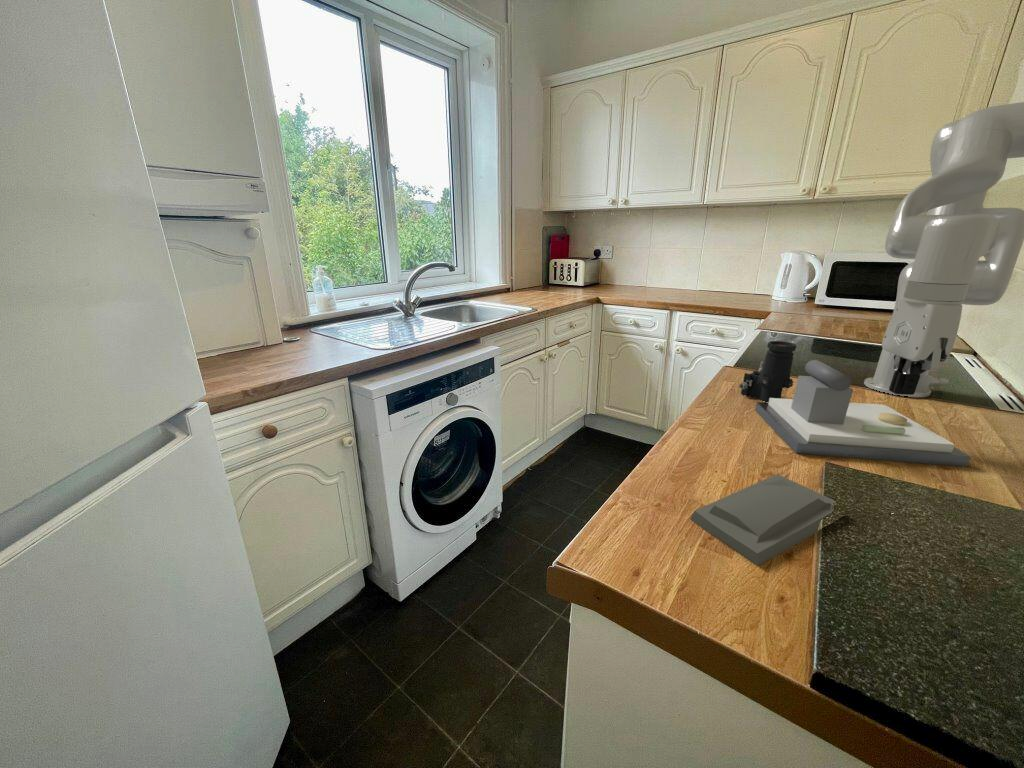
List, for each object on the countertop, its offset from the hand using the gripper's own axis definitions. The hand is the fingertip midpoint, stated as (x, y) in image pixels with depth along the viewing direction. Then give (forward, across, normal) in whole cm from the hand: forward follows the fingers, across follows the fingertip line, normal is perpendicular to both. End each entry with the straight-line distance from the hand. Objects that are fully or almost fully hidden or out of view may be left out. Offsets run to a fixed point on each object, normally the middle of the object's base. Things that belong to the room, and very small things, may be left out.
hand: (901, 392), depth 77 cm
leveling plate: (+7, +1, -7) cm, 10 cm away
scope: (+10, -17, -15) cm, 25 cm away
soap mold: (+9, +31, -32) cm, 45 cm away
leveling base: (+9, +1, -7) cm, 12 cm away
